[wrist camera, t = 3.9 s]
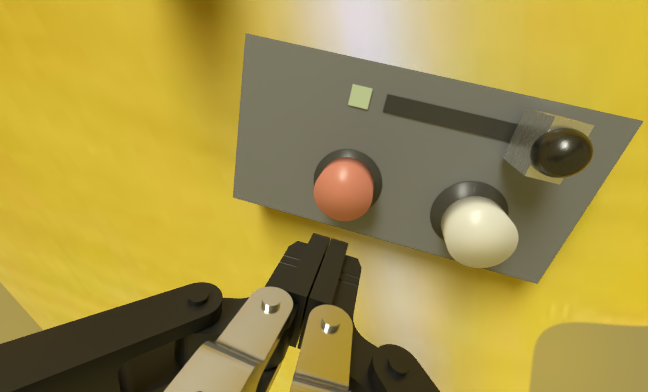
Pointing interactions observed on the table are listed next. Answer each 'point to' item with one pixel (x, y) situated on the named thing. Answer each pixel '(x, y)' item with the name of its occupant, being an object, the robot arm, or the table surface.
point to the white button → (478, 232)
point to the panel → (406, 149)
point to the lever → (549, 146)
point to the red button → (344, 189)
